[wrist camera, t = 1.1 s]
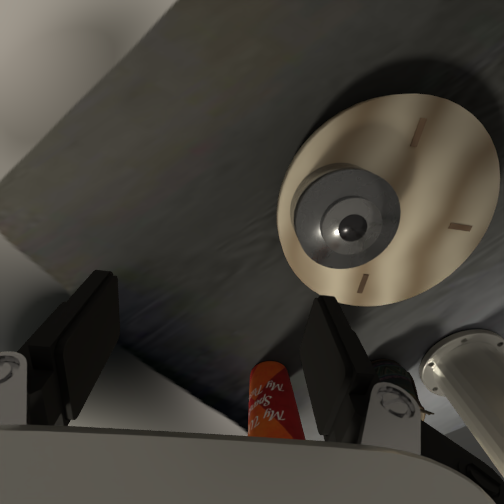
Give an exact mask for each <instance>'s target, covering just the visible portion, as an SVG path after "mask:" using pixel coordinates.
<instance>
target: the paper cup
mask: <svg viewBox="0 0 504 504" xmlns="http://www.w3.org/2000/svg"><path fill="white" fill-rule="evenodd" d="M248 436H252V437H267V438H283V439H298V440H305V436H304V432H303V428H302V424H301V420H300V416H299V412H298V409H297V405H296V401H295V397H294V393H293V389H292V385H291V382H290V378H289V375H288V372H287V369H286V367H285V366H284V365H283V364H281V363H279V362H276V361H265V362H261V363H259V364H257V365H256V366H255V367H254V368H253V369H252V371H251V375H250V390H249V419H248Z"/></svg>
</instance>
